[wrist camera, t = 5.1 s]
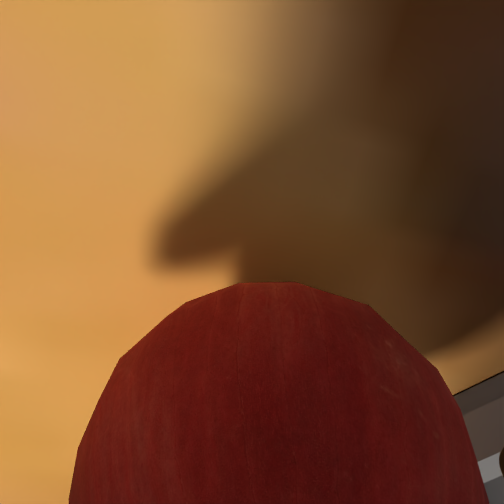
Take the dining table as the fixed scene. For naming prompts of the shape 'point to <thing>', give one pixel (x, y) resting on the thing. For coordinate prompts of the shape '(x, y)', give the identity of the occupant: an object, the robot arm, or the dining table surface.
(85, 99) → the dining table surface
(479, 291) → the dining table surface
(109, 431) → the onion
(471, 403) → the tray
